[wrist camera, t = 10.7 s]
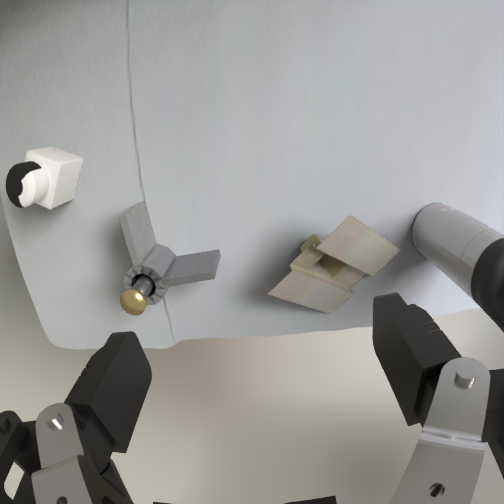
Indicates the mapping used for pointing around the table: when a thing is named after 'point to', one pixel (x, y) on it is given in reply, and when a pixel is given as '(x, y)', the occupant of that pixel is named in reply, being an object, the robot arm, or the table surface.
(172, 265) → the hinge
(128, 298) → the pin
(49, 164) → the medicine bottle
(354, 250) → the beige folded piece
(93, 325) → the table surface
